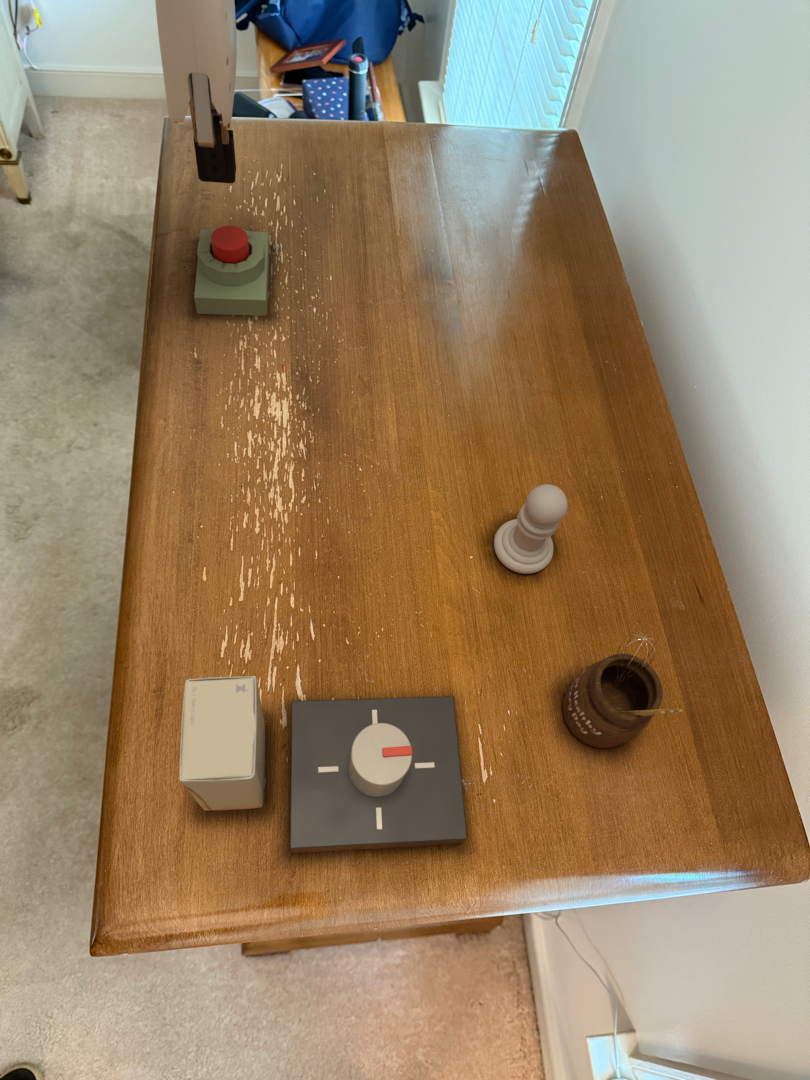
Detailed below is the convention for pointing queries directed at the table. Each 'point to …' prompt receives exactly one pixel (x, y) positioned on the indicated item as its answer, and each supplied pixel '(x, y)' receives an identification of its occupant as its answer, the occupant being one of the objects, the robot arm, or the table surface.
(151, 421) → the table surface
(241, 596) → the table surface
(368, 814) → the panel
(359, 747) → the hob knob
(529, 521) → the chess piece
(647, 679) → the utensil holder
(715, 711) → the table surface
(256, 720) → the cosmetic box
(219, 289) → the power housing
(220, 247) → the power button
